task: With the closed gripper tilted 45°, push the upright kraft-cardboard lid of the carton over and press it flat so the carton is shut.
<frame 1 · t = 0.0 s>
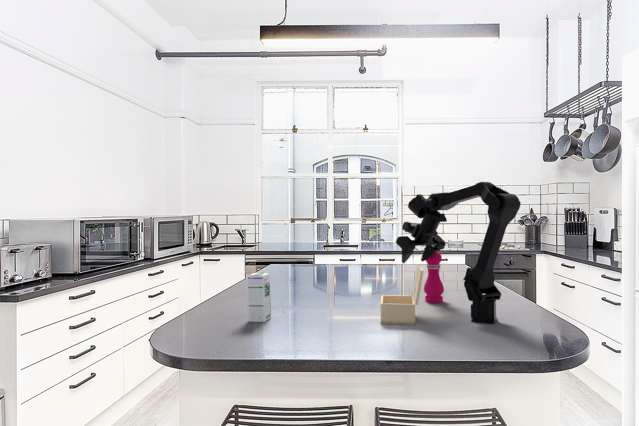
hand: (412, 261, 166), 15 cm above the countertop, tool tilted 35°, fingers open, 9 cm apart
syrup box: (259, 320, 145), on the countertop
pepper mill: (434, 301, 169), on the countertop, touching gripper
carton: (397, 318, 143), on the countertop
lid: (418, 283, 142), point 11 cm above the countertop, hinge at 100.0°
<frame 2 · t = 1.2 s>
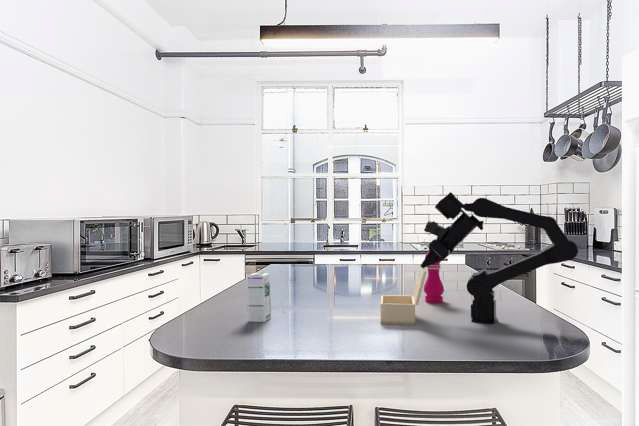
hand: (423, 265, 146), 16 cm above the countertop, tool tilted 45°, fingers open, 8 cm apart
pepper mill: (434, 301, 170), on the countertop
lid: (419, 284, 142), point 11 cm above the countertop, hinge at 105.3°, touching gripper
everything else where it was.
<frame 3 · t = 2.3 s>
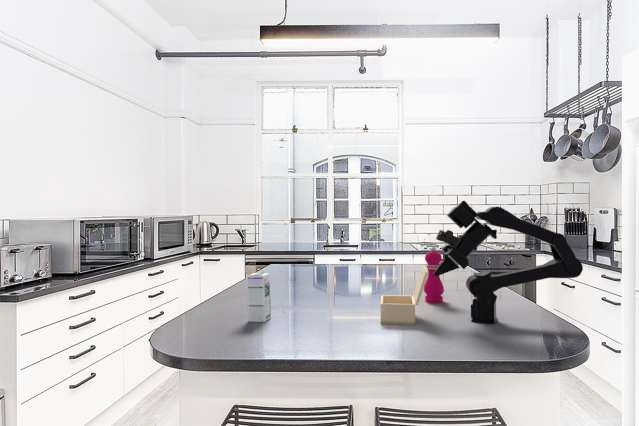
hand: (434, 275, 142), 14 cm above the countertop, tool tilted 45°, fingers closed
lid: (420, 284, 142), point 11 cm above the countertop, hinge at 108.1°
everything else where it was.
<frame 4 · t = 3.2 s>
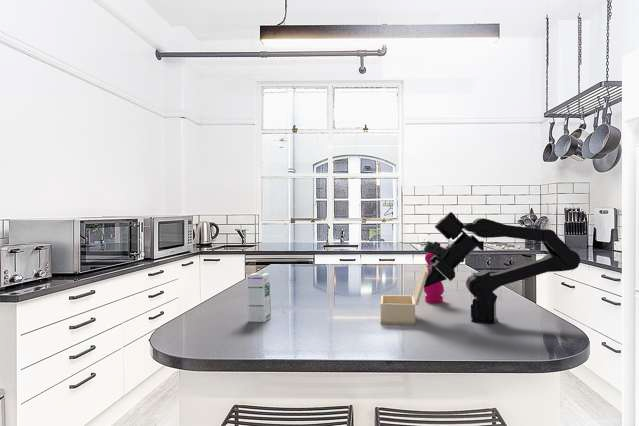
hand: (422, 286, 142), 10 cm above the countertop, tool tilted 45°, fingers closed, pressing on lid
lid: (420, 284, 142), point 11 cm above the countertop, hinge at 107.9°, touching gripper
everything else where it was.
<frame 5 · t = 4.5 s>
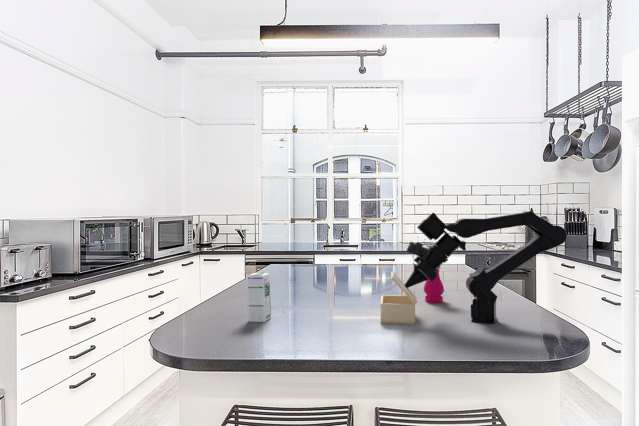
hand: (405, 286, 143), 10 cm above the countertop, tool tilted 45°, fingers closed, pressing on lid
lid: (403, 286, 143), point 10 cm above the countertop, hinge at 47.8°, touching gripper
everything else where it was.
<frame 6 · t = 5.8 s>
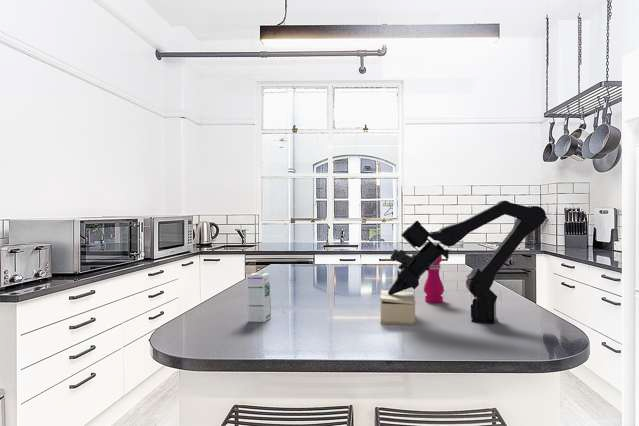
hand: (388, 293, 144), 8 cm above the countertop, tool tilted 45°, fingers closed, pressing on lid
lid: (397, 296, 143), point 7 cm above the countertop, hinge at 4.9°, touching gripper
everything else where it was.
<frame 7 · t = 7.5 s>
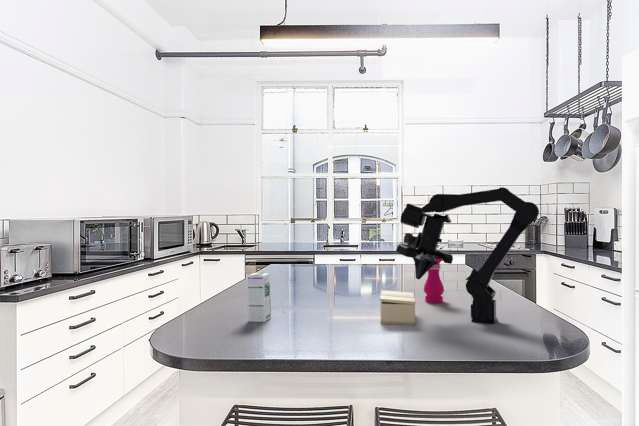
hand: (417, 278, 148), 12 cm above the countertop, tool tilted 15°, fingers closed
lid: (397, 296, 143), point 7 cm above the countertop, hinge at 4.3°
everything else where it was.
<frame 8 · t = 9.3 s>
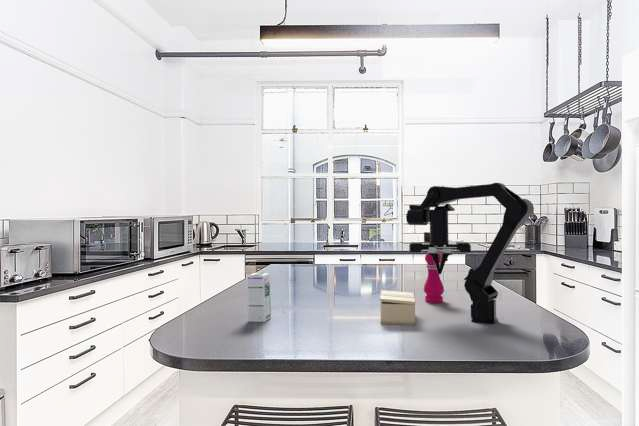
hand: (439, 274, 148), 13 cm above the countertop, tool pointing down, fingers closed
nothing on the countertop moved.
at the end: lid at +4° (first picture: +100°) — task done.
